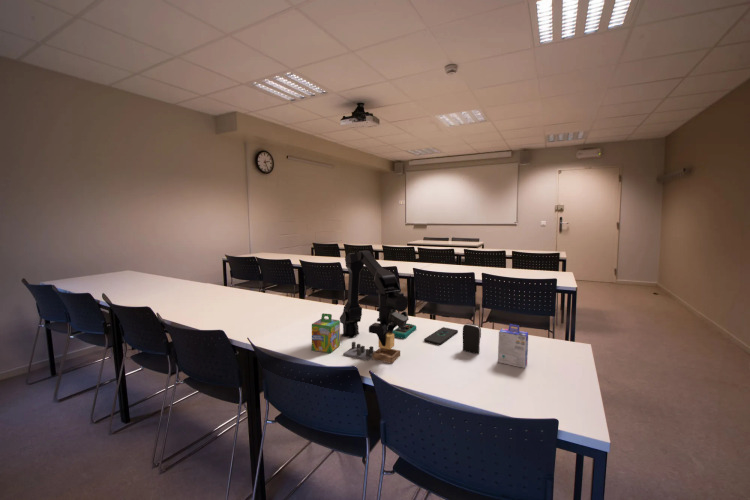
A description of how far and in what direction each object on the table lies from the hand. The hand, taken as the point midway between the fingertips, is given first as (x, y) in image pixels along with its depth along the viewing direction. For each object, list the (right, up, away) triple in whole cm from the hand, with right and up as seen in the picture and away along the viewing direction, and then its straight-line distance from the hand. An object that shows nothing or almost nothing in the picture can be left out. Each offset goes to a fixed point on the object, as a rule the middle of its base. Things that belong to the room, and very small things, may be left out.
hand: (386, 344), depth 129 cm
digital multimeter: (+9, -3, +28) cm, 30 cm away
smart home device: (+26, -4, +22) cm, 35 cm away
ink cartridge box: (+48, -6, -5) cm, 48 cm away
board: (-11, -5, +4) cm, 12 cm away
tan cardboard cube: (0, -1, 0) cm, 1 cm away
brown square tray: (0, -5, 0) cm, 6 cm away
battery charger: (+35, -5, +6) cm, 36 cm away
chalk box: (-25, -5, +10) cm, 28 cm away
